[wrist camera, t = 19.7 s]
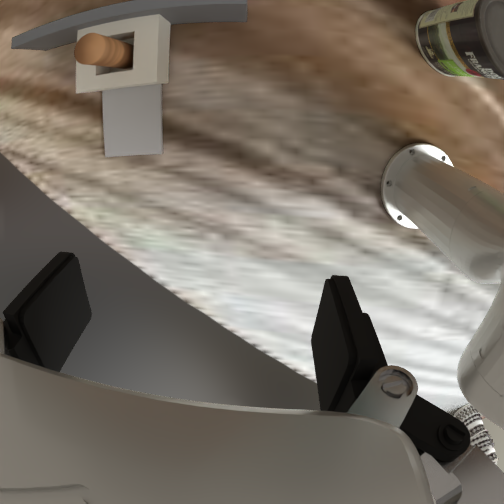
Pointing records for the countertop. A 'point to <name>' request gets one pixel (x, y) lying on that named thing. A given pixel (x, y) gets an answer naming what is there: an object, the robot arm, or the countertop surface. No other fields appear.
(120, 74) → the socket block
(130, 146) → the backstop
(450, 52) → the coffee can
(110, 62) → the dowel
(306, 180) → the countertop surface
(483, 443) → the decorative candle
